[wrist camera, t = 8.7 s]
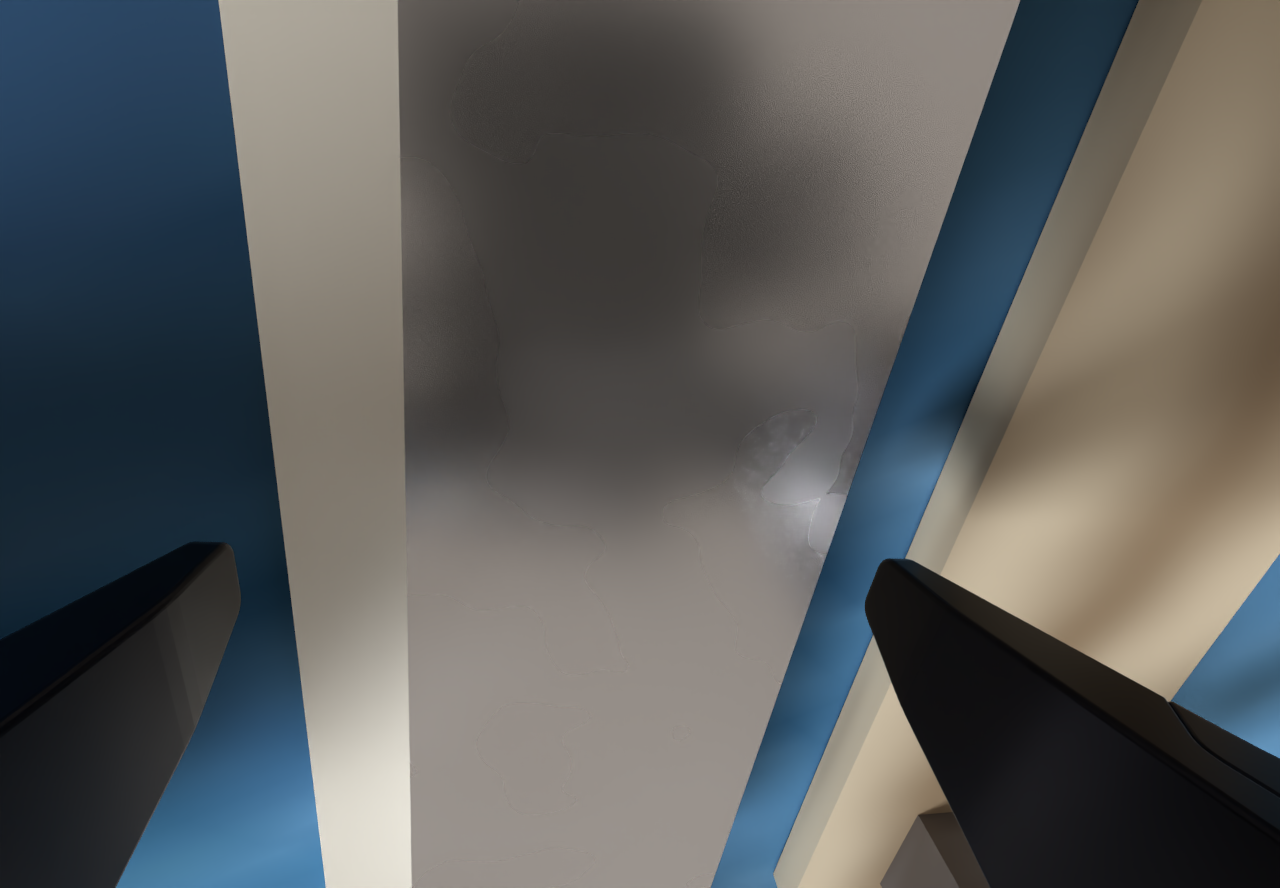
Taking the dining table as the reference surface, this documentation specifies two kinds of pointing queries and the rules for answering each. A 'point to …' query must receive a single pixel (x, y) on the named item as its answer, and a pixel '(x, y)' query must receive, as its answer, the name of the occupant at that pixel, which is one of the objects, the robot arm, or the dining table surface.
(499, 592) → the rail
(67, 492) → the dining table surface
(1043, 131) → the dining table surface
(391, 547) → the board
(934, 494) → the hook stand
